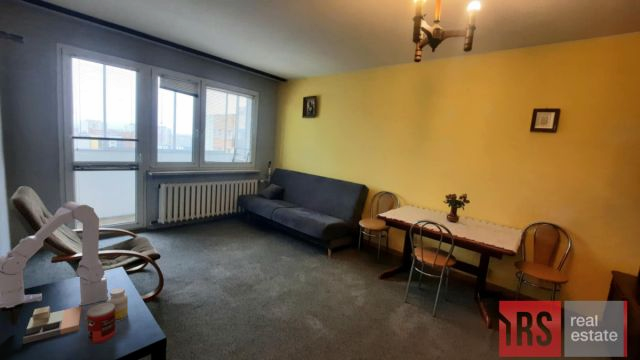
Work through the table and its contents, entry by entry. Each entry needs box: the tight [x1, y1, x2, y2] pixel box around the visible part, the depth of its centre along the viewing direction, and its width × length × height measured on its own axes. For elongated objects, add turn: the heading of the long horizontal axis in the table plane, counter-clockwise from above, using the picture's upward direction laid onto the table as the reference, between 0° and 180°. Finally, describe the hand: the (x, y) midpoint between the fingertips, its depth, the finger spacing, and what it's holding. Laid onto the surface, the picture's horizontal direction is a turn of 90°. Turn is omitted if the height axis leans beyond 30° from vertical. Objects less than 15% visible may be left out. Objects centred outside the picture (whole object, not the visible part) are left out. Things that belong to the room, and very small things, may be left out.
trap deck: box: [22, 306, 82, 345], centre depth 107 cm, size 14×14×2 cm
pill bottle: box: [107, 287, 129, 323], centre depth 113 cm, size 6×6×12 cm
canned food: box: [86, 302, 116, 344], centre depth 103 cm, size 8×8×11 cm
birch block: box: [32, 305, 51, 325], centre depth 106 cm, size 4×4×4 cm
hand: (14, 323), depth 102 cm, fingers closed
